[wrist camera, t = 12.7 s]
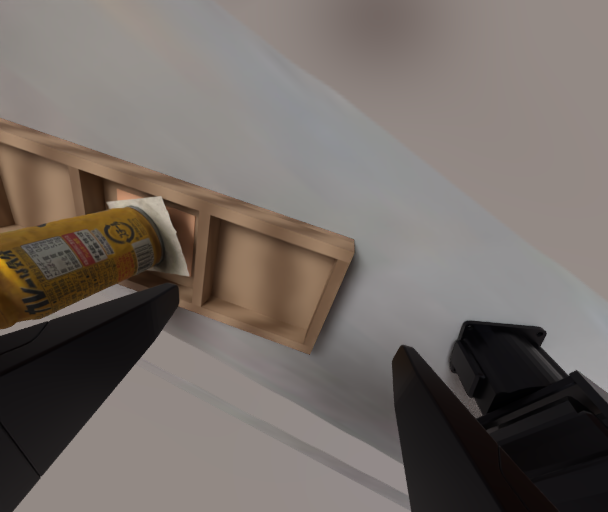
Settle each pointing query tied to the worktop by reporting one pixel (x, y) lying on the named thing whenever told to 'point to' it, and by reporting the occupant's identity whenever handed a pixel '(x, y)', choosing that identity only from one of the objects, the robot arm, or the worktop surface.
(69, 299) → the condiment
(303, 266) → the tray
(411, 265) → the worktop surface
